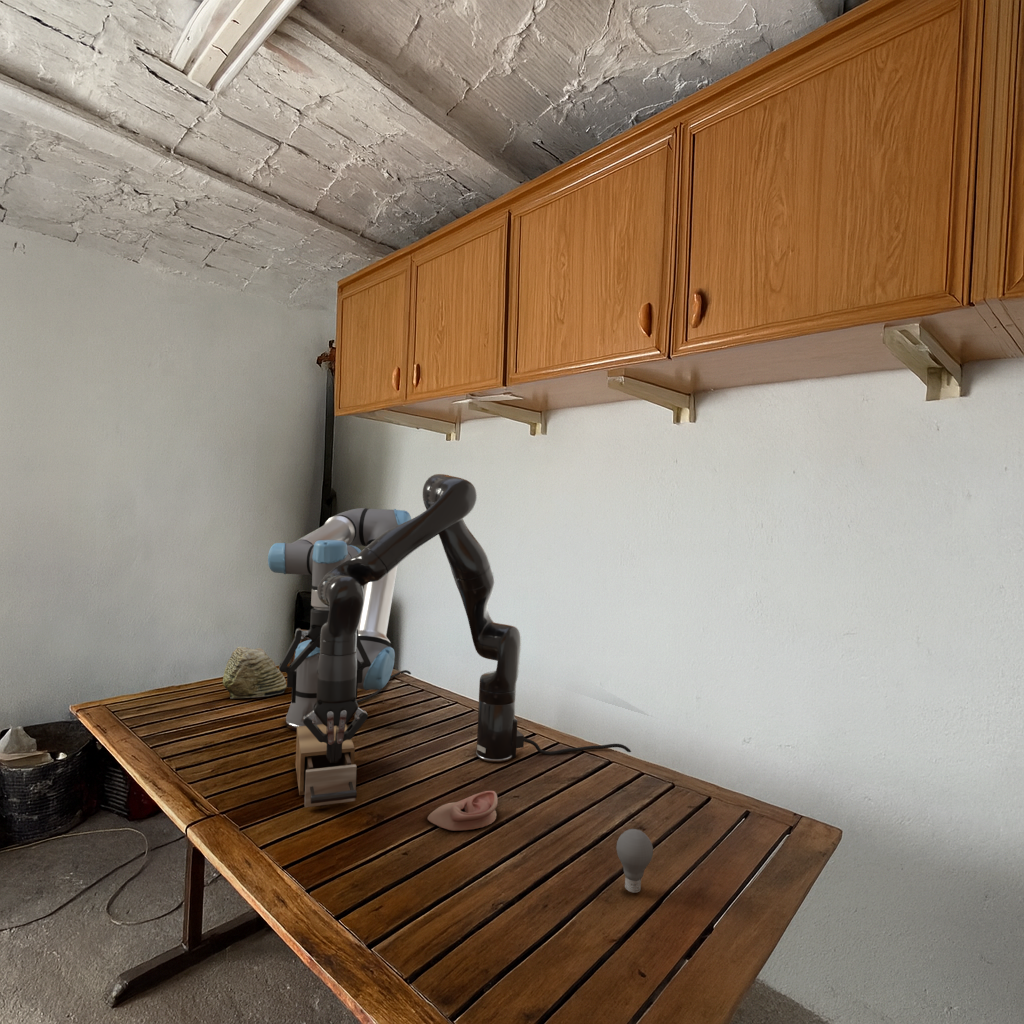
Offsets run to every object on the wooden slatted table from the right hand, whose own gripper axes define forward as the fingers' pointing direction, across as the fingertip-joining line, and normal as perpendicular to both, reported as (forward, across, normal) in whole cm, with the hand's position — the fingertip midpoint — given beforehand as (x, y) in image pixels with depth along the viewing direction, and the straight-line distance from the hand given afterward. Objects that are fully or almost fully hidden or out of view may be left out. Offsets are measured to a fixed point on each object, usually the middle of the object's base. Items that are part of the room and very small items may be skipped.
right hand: (333, 760), depth 126 cm
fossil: (+11, -15, +84) cm, 86 cm away
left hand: (-6, 0, +22) cm, 23 cm away
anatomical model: (+11, +25, -8) cm, 28 cm away
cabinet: (+11, 0, +19) cm, 22 cm away
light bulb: (+11, +45, -40) cm, 61 cm away
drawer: (+10, 0, +8) cm, 13 cm away
